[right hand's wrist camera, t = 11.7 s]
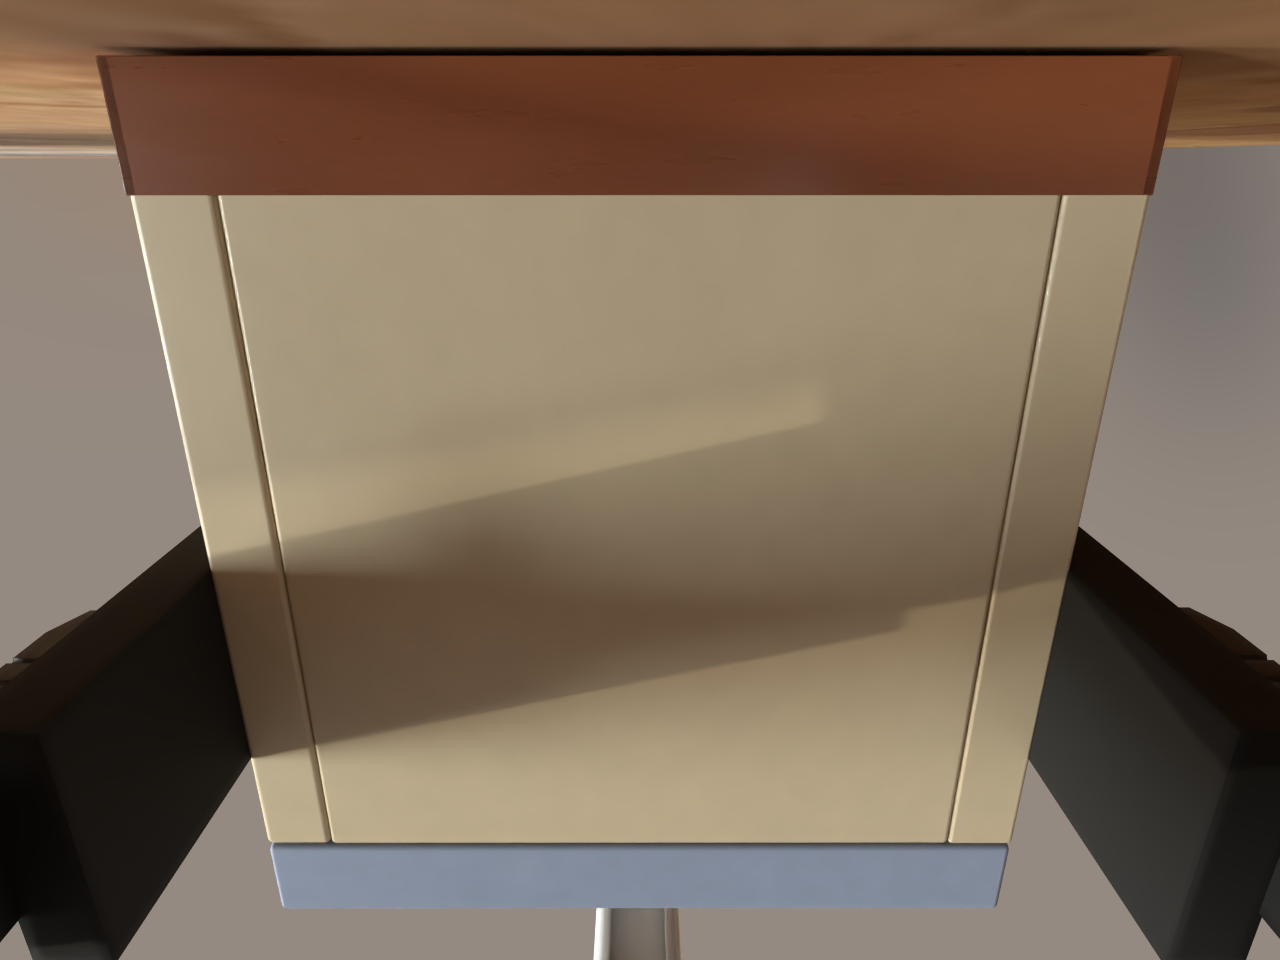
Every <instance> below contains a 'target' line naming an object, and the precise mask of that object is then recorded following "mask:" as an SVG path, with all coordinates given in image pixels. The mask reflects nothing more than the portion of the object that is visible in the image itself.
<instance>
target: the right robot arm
mask: <svg viewBox="0 0 1280 960" xmlns="http://www.w3.org/2000/svg"><path fill="white" fill-rule="evenodd" d="M250 759H251V755H250V750H249V746H248V741H247V736H246V732H245V727H244V722H243V718H242V713H241V708H240V704H239V699H238V694H237V690H236V685H235V680H234V676H233V671H232V666H231V662H230V657H229V652H228V648H227V643H226V638H225V634H224V629H223V624H222V620H221V615H220V610H219V606H218V601H217V596H216V592H215V587H214V582H213V578H212V573H211V569H210V564H209V559H208V555H207V550H206V545H205V541H204V536H203V531H202V527H201V526H200V527H199V528H197V529H196V530H195V531H194V532H193V533H191V534H190V535H189V536H188V537H186V538H185V539H184V540H183V541H182V542H180V543H179V544H178V545H177V546H175V547H174V548H173V549H172V550H170V551H169V552H168V553H167V554H166V555H164V556H163V557H162V558H161V559H159V560H158V561H157V562H156V563H154V564H153V565H152V566H151V567H150V568H148V569H147V570H146V571H145V572H143V573H142V574H141V575H140V576H138V577H137V578H136V579H135V580H134V581H132V582H131V583H130V584H129V585H127V586H126V587H125V588H124V589H123V590H121V591H120V592H119V593H118V594H116V595H115V596H114V597H113V598H111V599H110V600H109V601H108V602H107V603H105V604H104V605H103V606H102V607H100V608H99V609H98V610H97V611H89V612H87V613H85V614H82V615H80V616H78V617H76V618H74V619H72V620H70V621H68V622H66V623H64V624H62V625H60V626H58V627H56V628H54V629H52V630H50V631H48V632H46V633H45V634H43V635H42V636H41V637H40V638H38V639H37V640H36V641H34V642H33V643H32V644H31V645H29V646H28V647H27V648H26V649H24V650H23V651H22V652H20V653H19V654H18V655H17V656H15V657H14V658H13V663H12V664H5V665H4V666H2V667H1V668H0V942H1V941H2V939H3V938H4V937H5V936H6V935H7V933H8V932H9V931H10V930H11V929H12V927H13V926H14V925H15V924H16V923H17V921H19V924H20V927H21V929H22V932H23V935H24V937H25V940H26V943H27V945H28V948H29V951H30V954H31V956H32V959H33V960H118V959H119V958H120V956H121V955H122V953H123V952H124V950H125V949H126V947H127V945H128V944H129V942H130V941H131V939H132V938H133V936H134V935H135V933H136V932H137V930H138V929H139V927H140V926H141V924H142V923H143V921H144V920H145V918H146V917H147V915H148V914H149V912H150V911H151V909H152V908H153V906H154V904H155V903H156V902H157V900H158V898H159V897H160V895H161V894H162V892H163V891H164V889H165V888H166V886H167V885H168V883H169V882H170V880H171V879H172V877H173V876H174V874H175V873H176V871H177V870H178V868H179V867H180V865H181V864H182V862H183V860H184V859H185V858H186V856H187V854H188V853H189V851H190V850H191V848H192V847H193V845H194V844H195V842H196V841H197V839H198V838H199V836H200V835H201V833H202V832H203V830H204V829H205V827H206V826H207V824H208V823H209V821H210V819H211V818H212V817H213V815H214V813H215V812H216V810H217V809H218V807H219V806H220V804H221V803H222V801H223V800H224V798H225V797H226V795H227V794H228V792H229V791H230V789H231V788H232V786H233V785H234V783H235V782H236V780H237V778H238V777H239V776H240V774H241V772H242V771H243V769H244V768H245V766H246V765H247V763H248V762H249V760H250ZM1028 759H1029V760H1030V762H1031V763H1032V765H1033V766H1034V768H1035V769H1036V771H1037V772H1038V774H1039V775H1040V777H1041V778H1042V780H1043V781H1044V783H1045V784H1046V786H1047V787H1048V789H1049V790H1050V792H1051V794H1052V795H1053V797H1054V798H1055V800H1056V801H1057V803H1058V804H1059V806H1060V807H1061V809H1062V810H1063V812H1064V813H1065V815H1066V816H1067V818H1068V819H1069V821H1070V822H1071V824H1072V826H1073V827H1074V829H1075V830H1076V832H1077V833H1078V835H1079V836H1080V838H1081V839H1082V841H1083V842H1084V844H1085V845H1086V847H1087V848H1088V850H1089V851H1090V853H1091V854H1092V856H1093V857H1094V859H1095V860H1096V862H1097V863H1098V865H1099V867H1100V868H1101V870H1102V871H1103V873H1104V874H1105V876H1106V877H1107V879H1108V880H1109V882H1110V883H1111V885H1112V886H1113V888H1114V889H1115V891H1116V892H1117V894H1118V895H1119V897H1120V898H1121V900H1122V901H1123V903H1124V904H1125V906H1126V908H1127V909H1128V911H1129V912H1130V914H1131V915H1132V917H1133V918H1134V920H1135V921H1136V923H1137V924H1138V926H1139V927H1140V929H1141V930H1142V932H1143V933H1144V935H1145V936H1146V938H1147V939H1148V941H1149V942H1150V944H1151V946H1152V947H1153V949H1154V950H1155V952H1156V953H1157V955H1158V956H1159V958H1160V959H1161V960H1246V958H1247V956H1248V953H1249V950H1250V947H1251V945H1252V942H1253V939H1254V937H1255V934H1256V931H1257V929H1258V926H1259V923H1260V921H1261V918H1263V919H1264V920H1265V921H1266V923H1267V924H1268V925H1269V926H1270V928H1271V929H1272V930H1273V931H1274V932H1275V933H1276V935H1277V936H1278V937H1279V938H1280V665H1279V664H1278V663H1276V662H1275V661H1274V660H1267V655H1266V654H1265V653H1264V652H1262V651H1261V650H1260V649H1258V648H1257V647H1256V646H1254V645H1253V644H1252V643H1251V642H1249V641H1248V640H1247V639H1245V638H1244V637H1243V636H1242V635H1240V634H1239V633H1238V632H1236V631H1235V630H1234V629H1232V628H1230V627H1228V626H1226V625H1224V624H1222V623H1220V622H1218V621H1216V620H1213V619H1212V618H1209V617H1207V616H1205V615H1203V614H1201V613H1199V612H1197V611H1195V610H1193V609H1191V608H1179V607H1177V606H1176V605H1175V604H1174V603H1172V602H1171V601H1170V600H1169V599H1168V598H1166V597H1165V596H1164V595H1163V594H1161V593H1160V592H1159V591H1158V590H1156V589H1155V588H1154V587H1153V586H1152V585H1150V584H1149V583H1148V582H1147V581H1145V580H1144V579H1143V578H1142V577H1141V576H1139V575H1138V574H1137V573H1135V572H1134V571H1133V570H1132V569H1131V568H1129V567H1128V566H1127V565H1126V564H1125V563H1123V562H1122V561H1121V560H1120V559H1118V558H1117V557H1116V556H1115V555H1113V554H1112V553H1111V552H1110V551H1109V550H1107V549H1106V548H1105V547H1104V546H1102V545H1101V544H1100V543H1099V542H1097V541H1096V540H1095V539H1094V538H1093V537H1091V536H1090V535H1089V534H1088V533H1086V532H1085V531H1084V530H1083V529H1081V528H1080V527H1079V526H1078V531H1077V536H1076V540H1075V545H1074V550H1073V554H1072V559H1071V564H1070V568H1069V570H1068V574H1067V579H1066V584H1065V588H1064V593H1063V598H1062V602H1061V607H1060V612H1059V616H1058V621H1057V626H1056V631H1055V635H1054V640H1053V645H1052V649H1051V654H1050V659H1049V663H1048V668H1047V673H1046V677H1045V682H1044V687H1043V691H1042V696H1041V701H1040V705H1039V710H1038V715H1037V719H1036V724H1035V729H1034V733H1033V738H1032V743H1031V747H1030V752H1029V757H1028Z"/></svg>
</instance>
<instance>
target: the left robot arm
mask: <svg viewBox="0 0 1280 960" xmlns="http://www.w3.org/2000/svg"><path fill="white" fill-rule="evenodd" d="M594 960H682V947H681V929H680V911H679V908H597V912H596V929H595V947H594Z"/></svg>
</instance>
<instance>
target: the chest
mask: <svg viewBox="0 0 1280 960" xmlns="http://www.w3.org/2000/svg"><path fill="white" fill-rule="evenodd" d="M96 60H97V65H98V70H99V74H100V79H101V84H102V88H103V93H104V97H105V102H106V107H107V111H108V116H109V120H110V125H111V130H112V134H113V139H114V144H115V148H116V153H117V157H118V162H119V167H120V171H121V176H122V181H123V185H124V190H125V194H126V195H127V196H131V200H132V205H133V209H134V214H135V219H136V224H137V228H138V233H139V238H140V242H141V247H142V251H143V256H144V261H145V265H146V270H147V275H148V279H149V284H150V289H151V293H152V298H153V303H154V307H155V312H156V317H157V321H158V326H159V331H160V335H161V340H162V345H163V349H164V354H165V359H166V363H167V368H168V373H169V377H170V382H171V387H172V391H173V396H174V401H175V405H176V410H177V415H178V419H179V424H180V429H181V433H182V438H183V443H184V447H185V452H186V457H187V461H188V466H189V471H190V475H191V480H192V485H193V489H194V494H195V499H196V503H197V508H198V513H199V517H200V522H201V527H202V531H203V536H204V541H205V545H206V550H207V555H208V559H209V564H210V569H211V573H212V578H213V582H214V587H215V592H216V596H217V601H218V606H219V610H220V615H221V620H222V624H223V629H224V634H225V638H226V643H227V648H228V652H229V657H230V662H231V666H232V671H233V676H234V680H235V685H236V690H237V694H238V699H239V704H240V708H241V713H242V718H243V722H244V727H245V732H246V736H247V741H248V746H249V750H250V755H251V760H252V765H253V769H254V774H255V779H256V783H257V788H258V793H259V797H260V802H261V807H262V811H263V816H264V821H265V825H266V830H267V835H268V839H269V840H270V841H271V842H328V841H330V840H331V838H332V840H333V842H336V843H802V842H945V841H946V840H947V839H948V841H949V842H951V843H1009V842H1011V839H1012V835H1013V830H1014V825H1015V821H1016V816H1017V811H1018V807H1019V802H1020V797H1021V792H1022V788H1023V783H1024V779H1025V774H1026V769H1027V765H1028V760H1029V759H1028V757H1029V752H1030V747H1031V743H1032V738H1033V733H1034V729H1035V724H1036V719H1037V715H1038V710H1039V705H1040V701H1041V696H1042V691H1043V687H1044V682H1045V677H1046V673H1047V668H1048V663H1049V659H1050V654H1051V649H1052V645H1053V640H1054V635H1055V631H1056V626H1057V621H1058V616H1059V612H1060V607H1061V602H1062V598H1063V593H1064V588H1065V584H1066V579H1067V574H1068V570H1069V568H1070V564H1071V559H1072V554H1073V550H1074V545H1075V540H1076V536H1077V531H1078V526H1079V522H1080V517H1081V512H1082V508H1083V503H1084V498H1085V494H1086V489H1087V484H1088V479H1089V475H1090V470H1091V466H1092V461H1093V456H1094V451H1095V447H1096V442H1097V437H1098V433H1099V428H1100V423H1101V419H1102V414H1103V409H1104V405H1105V400H1106V395H1107V391H1108V386H1109V381H1110V377H1111V372H1112V367H1113V363H1114V358H1115V353H1116V349H1117V344H1118V339H1119V334H1120V330H1121V325H1122V321H1123V316H1124V311H1125V307H1126V302H1127V297H1128V293H1129V288H1130V283H1131V279H1132V274H1133V269H1134V265H1135V260H1136V255H1137V251H1138V246H1139V241H1140V237H1141V232H1142V227H1143V223H1144V218H1145V213H1146V209H1147V204H1148V199H1149V195H1153V192H1154V187H1155V183H1156V178H1157V173H1158V169H1159V164H1160V160H1161V155H1162V150H1163V146H1164V141H1165V136H1166V132H1167V127H1168V122H1169V118H1170V113H1171V108H1172V104H1173V99H1174V95H1175V90H1176V85H1177V81H1178V76H1179V71H1180V67H1181V62H1182V56H96Z"/></svg>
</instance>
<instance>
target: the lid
mask: <svg viewBox="0 0 1280 960" xmlns="http://www.w3.org/2000/svg"><path fill="white" fill-rule="evenodd" d="M1008 851H1009V849H1008V845H1007V843H951V842H949V841H948V839H947V840H946V841H945V842H802V843H336V842H333V840H332V838H331V840H330V841H328V842H273V843H272V845H271V855H272V859H273V864H274V869H275V874H276V878H277V883H278V888H279V892H280V897H281V901H282V906H283V907H284V908H994V907H996V906H997V902H998V897H999V893H1000V888H1001V883H1002V878H1003V874H1004V869H1005V865H1006V860H1007V855H1008Z"/></svg>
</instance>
